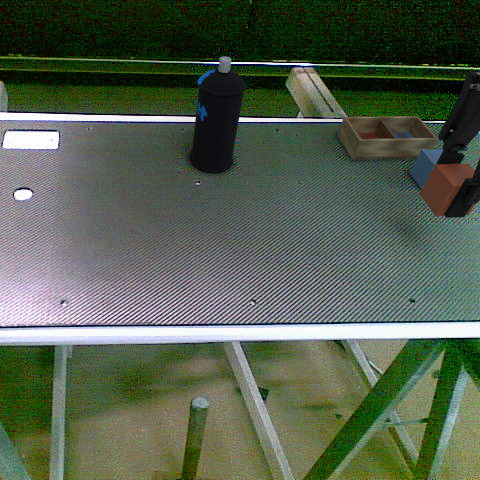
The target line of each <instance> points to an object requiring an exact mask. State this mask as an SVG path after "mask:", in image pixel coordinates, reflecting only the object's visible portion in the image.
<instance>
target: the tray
mask: <svg viewBox="0 0 480 480" xmlns="http://www.w3.org/2000/svg"><path fill="white" fill-rule="evenodd" d="M336 136H337V138H338V139H339V142H341V144H342V146H343V147H344V149H345V150H346V152H347V153H348V155H349V157H350V159H351V160H352V161H356V160H358V161H363V160H364V161H365V160H409V159H411V160H413V159H417V158H418V156H419V154H420V152H421V150H422V149H435V148H436V146H437V144H438V143H439V141H440V140H439V139H438V136H437V135H436V134H435V133H434V132H433V131H432V130H431V129H430V128H429V126H428V125H427V124H426V123H425V121H423V119H421V117H420V116H418V115H407V116H406V115H403V116H402V115H401V116H399V115H398V116H397V115H395V116H391V115H390V116H343V118H342V121H341V123H340V127H339V129H338V132H337V134H336Z"/></svg>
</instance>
